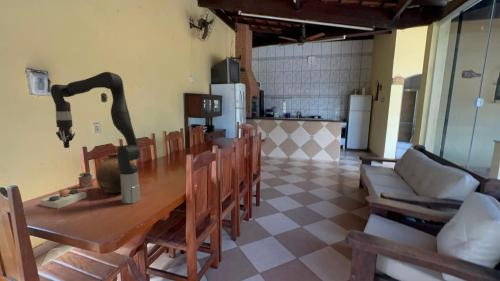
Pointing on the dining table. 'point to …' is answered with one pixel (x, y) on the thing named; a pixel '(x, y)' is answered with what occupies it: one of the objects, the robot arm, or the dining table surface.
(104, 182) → the pottery
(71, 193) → the black knob right
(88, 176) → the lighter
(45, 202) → the control panel
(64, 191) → the terracotta knob middle
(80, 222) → the dining table surface
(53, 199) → the black knob left
